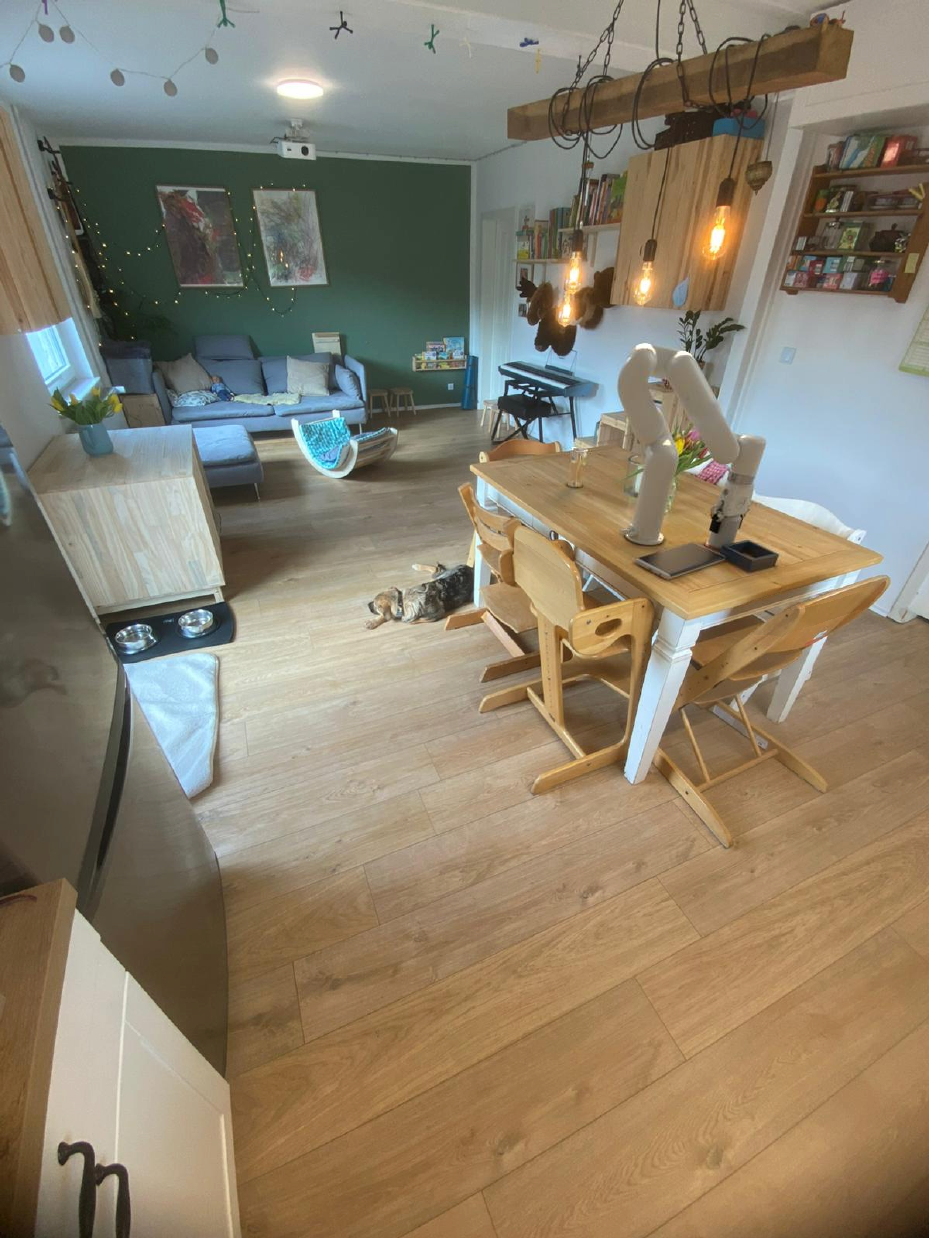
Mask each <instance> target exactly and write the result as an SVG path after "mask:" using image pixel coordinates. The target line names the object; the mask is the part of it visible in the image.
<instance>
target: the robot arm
mask: <svg viewBox="0 0 929 1238" xmlns="http://www.w3.org/2000/svg"><path fill="white" fill-rule="evenodd" d="M650 378H655V379H660V380H664V381H665V380H666V381H668V383H669V385H670V387H671V388H672V390H673V392H674V394H675V395H676V397H677V399H678V401H679V403H680V405H681V407H682V408H683V410H684V412H685V414H686V415H687V418H688V419H689V421H690V422H691V424H692V425H693V427H694V428H695V430H696V431H697V433H698V434H699V436H700V438H701V440H702V442H703V444H704V445H705V447H706V449H707V451H708V453H709V455H710V456H711V458H712V460H713V461H714V462H715V463H716V464H719V465H721V466H722V465H729V464H730V467H729V471H728V474H727V478H726V481H725V482H724V485H723V486H722V489H721V490H720V493H719V496H718V499H717V502H716V504H715V505H713V506H711V508H710V509H709V512H710V514H709V515H710V519H711V522H710V525H709V527H708V531H709V532H710V533H711V532H713V533H715V534H717V533H718V531H719V528H720V525H721V522H720V521H721V520H722V518H723V517H724V516H727V517H729V516H734V515H739V514H741V515H740V517H741V518H742V519H741V522H740V525H739V528H738V530H740V529H741V527H742V524H743V521H744V518H745V517H746V516H747V513H748V512H749V511H750V508H751V507H752V506H753V504H754V502H753V501H752V498H753V494H754V488H755V479H756V476H757V473H758V470H759V467H760V464H761V461H762V459H763V455H764V452H765V449H766V446H767V440H766V439H765V438H764V437H762V436H759V435H752V434H746V435H745V434H744V435H743V434H739V433H734V432H733V431H732V429H731V427H730V426H729V423H728V421H727V419H726V417H725V416H724V413H723V411H722V409H721V406H720V404H719V403H720V402H719V401H718V399H717V397H716V395H715V393H714V392H713V389H712V387H711V385H710V384H709V383H708V380H707V379H706V376H705V375H704V373H703V371H702V369H701V367H700V365H699V363H698V361H697V360H696V358H695V357H694V356H693V354H692V353H690V352H689V351H688V352H687V351H685V350H679V349H673V348H668V347H665V346H658V345H654V344H650V343H640V344H637V345H636V346H634V347H633V348H632V349H631V350H630V352H629V353H628V355H627V359H626V361H625V362H624V364H623V366H622V368H621V369H620V372H619V374H618V379H617V394H618V397H619V400H620V403H621V405H622V408H623V410H624V413H625V415H626V418H627V420H628V423H629V424H630V425H629V426H630V427H631V430H632V433H633V436H634V438H635V439H636V440H637V441H638V442H639V444H640V446H641V449H642V451H643V453H644V455H645V461H644V466H643V471H642V476H641V479H640V484H639V489H638V494H637V499H636V503H635V508H634V513H633V518H632V522H631V523H629V526H628V527H626V528H623V529H620V530H619V535H620V536H625V538H626V539H627V540H628V541H630V542H632V543H635V544H639V545H645V546H656V545H659V544H662V543H663V542H664V540H665V536H664V535H663V534H662V533H661V530H662V527H663V523H664V518H665V515H666V510H667V506H668V502H669V498H670V493H671V489H672V486H673V482H674V478H675V475H676V473H677V469H678V466H679V452H678V448H677V445H676V442H675V439H674V438H673V435H672V432H671V431H670V427H669V426H668V423H667V420H666V419H665V416H664V414H663V412H662V410H661V409H660V408H658V407H657V405H656V403H655V401H654V398H653V395H652V392H651V390H650V387H649V379H650ZM718 514H721V515H720V516H719V517H718Z"/></svg>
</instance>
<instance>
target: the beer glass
mask: <svg viewBox="0 0 929 1238" xmlns="http://www.w3.org/2000/svg"><path fill="white" fill-rule="evenodd" d="M588 452H589V451H588V449H587V448H586V447H581V446H574V447H572V448H571V450H570V455H569V460H568V461H569V462H568V467H569V469H568V470H569V475H568V481H567V486H568V487H571V488H581V487H582V486H583V475H584V472H585V469H586V465H587V462H588Z"/></svg>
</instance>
